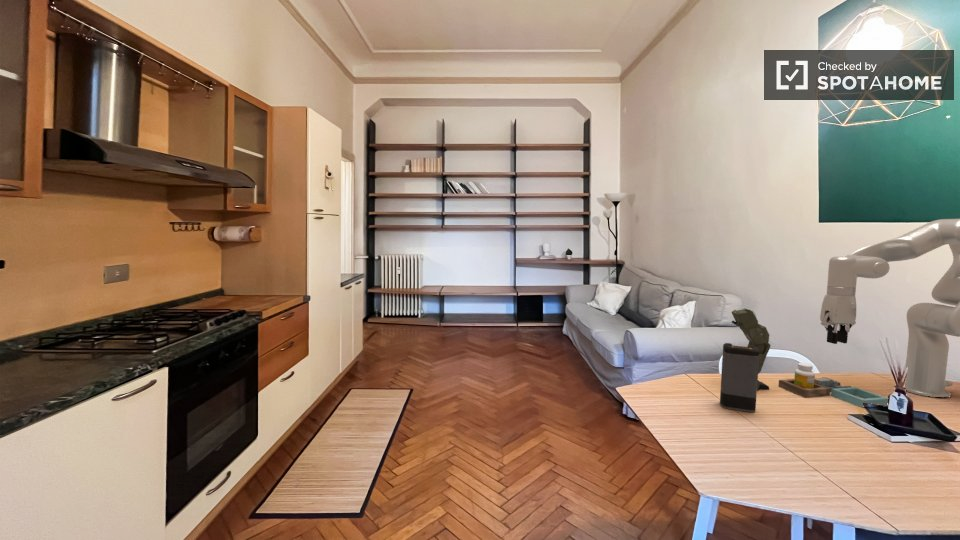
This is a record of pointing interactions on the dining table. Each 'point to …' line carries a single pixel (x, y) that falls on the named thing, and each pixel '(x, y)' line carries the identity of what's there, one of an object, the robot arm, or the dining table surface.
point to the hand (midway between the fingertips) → (836, 342)
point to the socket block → (803, 392)
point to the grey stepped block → (826, 382)
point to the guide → (838, 386)
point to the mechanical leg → (753, 336)
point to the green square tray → (853, 392)
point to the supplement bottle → (804, 376)
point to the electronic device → (739, 377)
